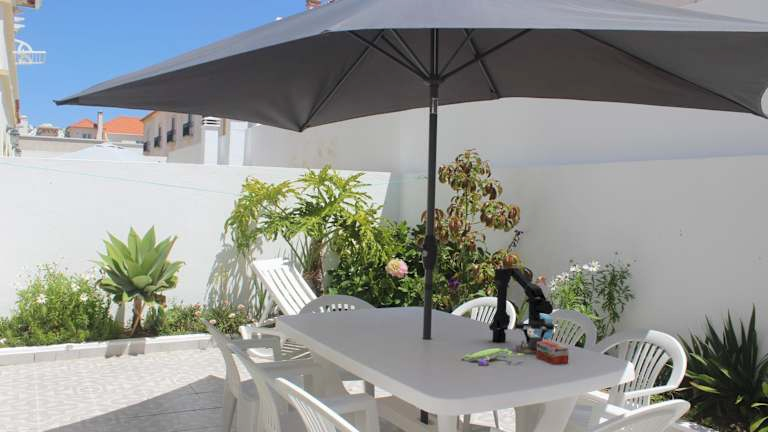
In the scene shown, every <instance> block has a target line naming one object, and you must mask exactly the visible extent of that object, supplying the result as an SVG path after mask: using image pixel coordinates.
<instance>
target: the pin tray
mask: <svg viewBox="0 0 768 432" xmlns="http://www.w3.org/2000/svg"><path fill="white" fill-rule="evenodd" d="M515 348H516V349H517V351H518V353H522V354H523V355H537V348H530V347H529V346H528V345H527V344H526V342H525V340H520V344H516V347H515Z"/></svg>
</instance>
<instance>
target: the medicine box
mask: <svg viewBox="0 0 768 432" xmlns="http://www.w3.org/2000/svg"><path fill="white" fill-rule="evenodd" d="M536 358H537V359H540V360H542V361H545V362H546V363H549V364H552V365H559V364H562V363H564V364H569V346H566V345H563V344H560V343H557V342H554V341H553V340H552V341H551V340H542V341H541V342H537V354H536Z"/></svg>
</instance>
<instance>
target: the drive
mask: <svg viewBox="0 0 768 432" xmlns="http://www.w3.org/2000/svg"><path fill="white" fill-rule="evenodd" d="M541 341H543V339H542V337H541V336H540V335H538V334H534V333H528V343H527V340H526V339H525V344H526V345H528V346H529V347H530V348H537V342H541Z"/></svg>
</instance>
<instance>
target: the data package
mask: <svg viewBox="0 0 768 432" xmlns="http://www.w3.org/2000/svg"><path fill="white" fill-rule="evenodd" d="M540 319H545V322H551V323H552V324H553V317H552V316H549V315H547V314H542V313H540ZM540 332H541V329H533V334H538V335H540ZM551 338H553V330H548V331H546V332H545V334H544V336H543V339H551Z"/></svg>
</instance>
